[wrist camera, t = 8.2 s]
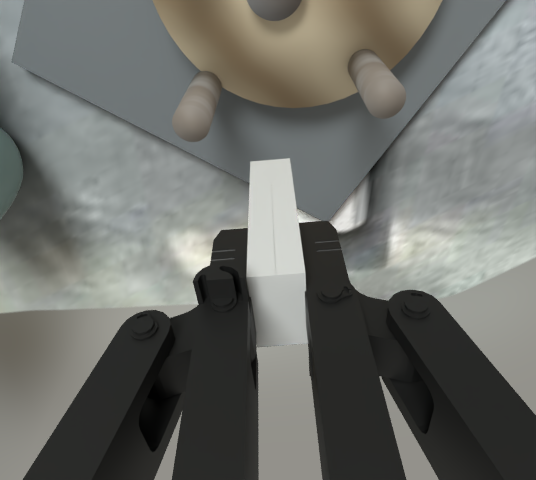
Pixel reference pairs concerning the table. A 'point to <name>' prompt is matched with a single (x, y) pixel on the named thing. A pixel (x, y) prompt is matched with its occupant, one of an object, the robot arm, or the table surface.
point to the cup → (9, 172)
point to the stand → (231, 105)
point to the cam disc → (292, 52)
